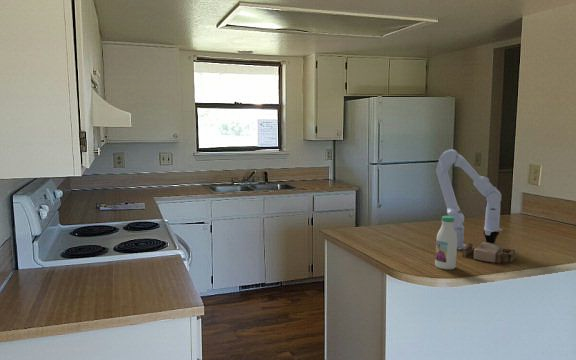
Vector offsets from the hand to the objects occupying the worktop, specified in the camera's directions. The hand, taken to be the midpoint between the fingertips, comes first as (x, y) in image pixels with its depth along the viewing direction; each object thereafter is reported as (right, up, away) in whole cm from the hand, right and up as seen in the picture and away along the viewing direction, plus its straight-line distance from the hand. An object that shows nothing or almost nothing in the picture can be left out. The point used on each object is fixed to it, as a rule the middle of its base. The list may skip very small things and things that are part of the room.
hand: (490, 248), depth 195 cm
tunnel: (-5, -3, -9) cm, 10 cm away
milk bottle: (-27, -4, -21) cm, 35 cm away
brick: (-5, -3, -8) cm, 10 cm away
